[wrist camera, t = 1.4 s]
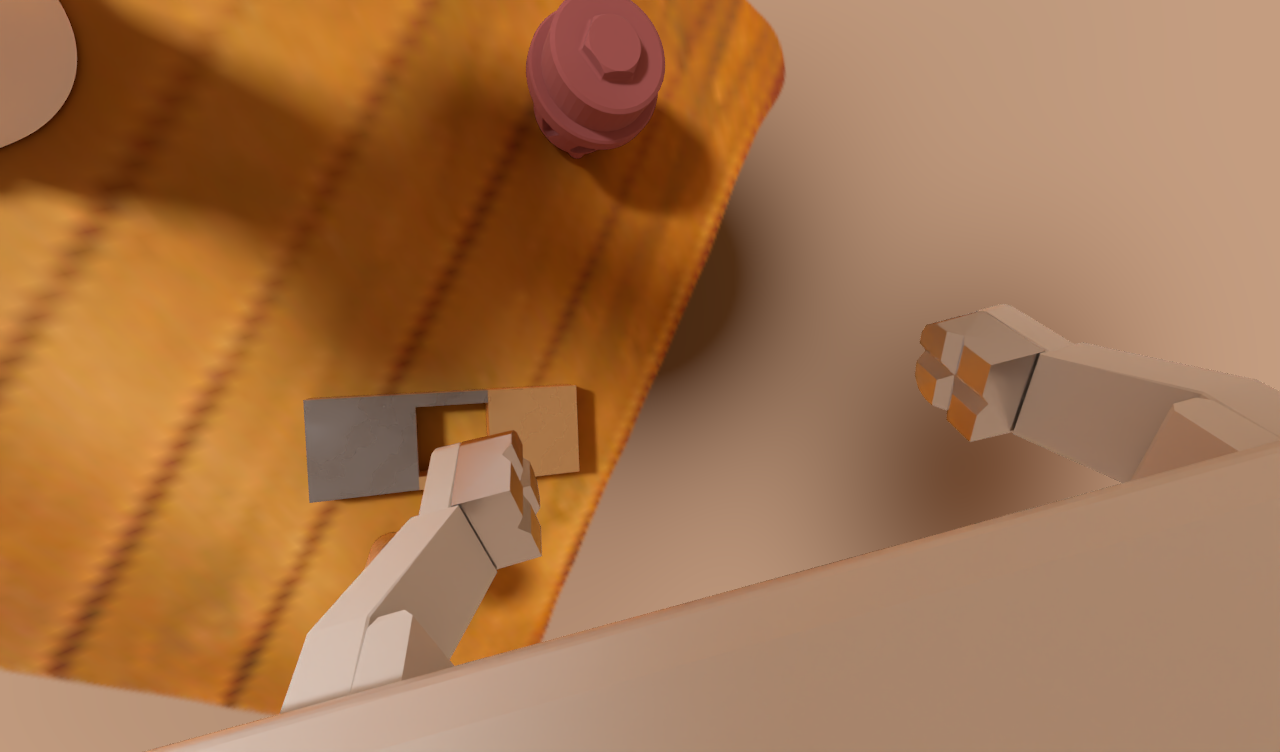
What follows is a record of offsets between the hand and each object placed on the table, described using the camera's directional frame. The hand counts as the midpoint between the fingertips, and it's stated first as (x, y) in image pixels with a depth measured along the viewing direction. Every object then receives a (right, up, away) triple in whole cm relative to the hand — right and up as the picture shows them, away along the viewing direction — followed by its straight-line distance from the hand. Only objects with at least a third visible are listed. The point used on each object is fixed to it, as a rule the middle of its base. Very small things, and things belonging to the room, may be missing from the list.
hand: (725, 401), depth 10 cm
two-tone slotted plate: (-17, -4, +33) cm, 38 cm away
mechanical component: (-8, +23, +36) cm, 44 cm away
